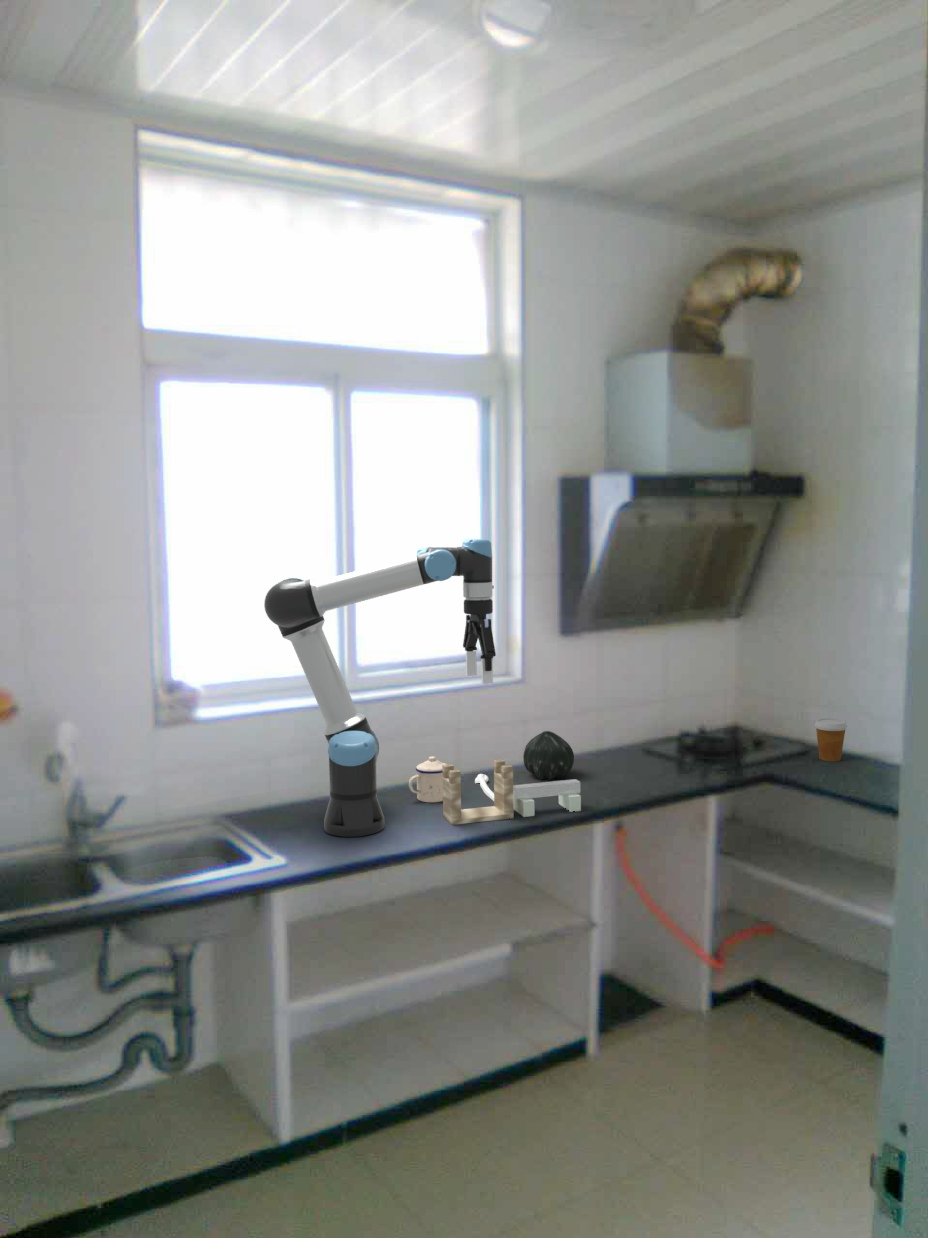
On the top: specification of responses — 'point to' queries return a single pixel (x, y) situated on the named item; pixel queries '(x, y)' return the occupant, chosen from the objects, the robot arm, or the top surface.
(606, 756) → the top surface
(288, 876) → the top surface
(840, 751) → the disposable coffee cup
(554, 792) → the rail
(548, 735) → the squash
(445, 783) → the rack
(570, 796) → the rest
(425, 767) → the teacup with lid
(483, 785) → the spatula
